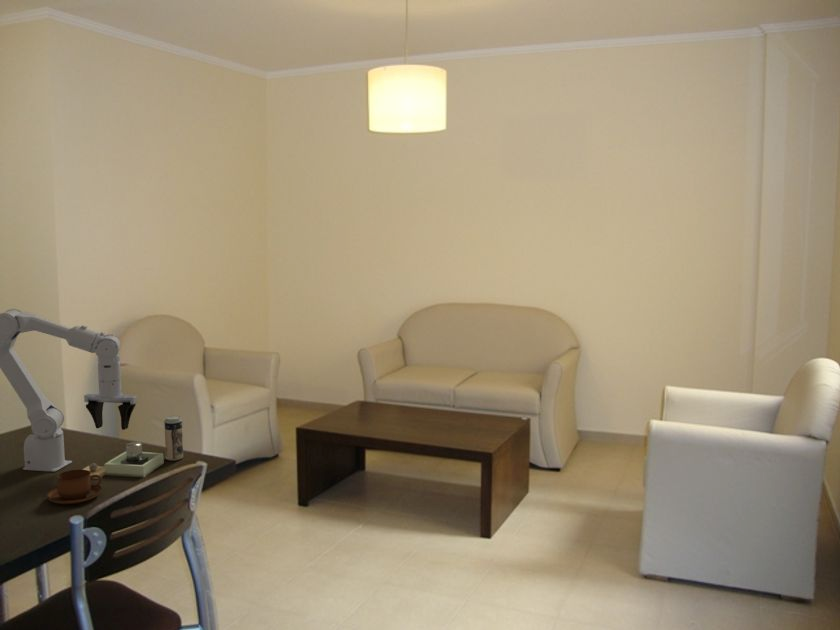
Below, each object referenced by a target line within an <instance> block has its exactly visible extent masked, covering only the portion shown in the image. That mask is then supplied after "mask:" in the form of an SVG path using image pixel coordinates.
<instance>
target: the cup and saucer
mask: <svg viewBox="0 0 840 630" xmlns="http://www.w3.org/2000/svg"><path fill="white" fill-rule="evenodd" d="M94 477H97V478H98V479H97V480H98V482H96V483H94V482H91V480H92V479H93V478H94ZM56 482H57V484H56V485H57V487H55V488H53V489H51V490H50V491H48V493H47V495H46V497H47V499H48V501H50V502H51V503H55V504H59V505H72V504H73V505H75V504H81V503H83V502H89V501H90V500H92V499H94V498H95V497H97V496H99V494H100V493H101V492H102V486H101V485H102V484H101V483H102V482H103V477H101V476H99V475H91V476H90V472H89V471H87V470H82V469H72V470H71V469H70V470H66V471H63V472H61V473H59V474H57V476H56Z"/></svg>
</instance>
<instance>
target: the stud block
mask: <svg viewBox="0 0 840 630" xmlns="http://www.w3.org/2000/svg"><path fill="white" fill-rule="evenodd" d="M81 470H87V471H89V472H90V476H91V475H99V476H101V478H103V477H104V476H106V475H105V468H104V465H103V466H102V465H101V466H100V465H98V464H97V463H95V462H93V463H90V464H89V465H87V466H86V467H84V468H82V469H81ZM92 479H97V480H99V479H98V478H97V477H94V478H92Z"/></svg>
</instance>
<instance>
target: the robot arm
mask: <svg viewBox="0 0 840 630" xmlns="http://www.w3.org/2000/svg"><path fill="white" fill-rule="evenodd" d="M33 331H36V332H38V333H42V334H47V335H49V336H53V337H55V338H56V337H57V338H60V339H63V340H65V341H66V342H67V344H68V346H69V347H73V348H77V349H79V350H81V351H85V352H88V353H91V354H95V355H96V356H97V363H98V364H97V373H98V374H97V375H98V376H97V377H98V379H97V380H98V393H86V394H85V395H83V398H84V400H83V401H84V403H87V404H85V409H86V410H87V411H88V412H89V414H90V415H91V418H92V420H93V422H94V426H95V428H96V429H100V428H102V427H103V423H104V421H103V419H104V418H103V410H104V404H105V403H111V404H112V403H113V404H114V403H115V404H120V405H118V406H117V408H118V409H117V410H118V411H119V415H120V424H121V425H120V426H121V430H123V431H125V430H127V429H129V425H130V424H129V423H130V419H131V416H132V413H133V411H134V409H135V407H136V405H137V403H138V395H131V394H125V393H122V373H121V372H122V371H121V369H122V366H121V362H120V360H121V358H120V353H119V352H120V350H121V348H122V347H121V346H122V345H121V341H120V339H119V338H118V337H117V336H115V335H113V334H106V333H105V332H103V331H101V332H98V331H95V330H91V329H88V326H87V325H84V324H82V325H81V326H79V325H75V326H73V327H69V326H65V325H63V324H61V323H58V322H55V321H53V320H50V319H47V318H45V317H42V316H40V315H37V314H34V313H32V312H29V311H21V310H19V309H16V308H11V309H7V310H6V311H4V312H0V370H1V371H2V373H3V374H4V376H5V378H6V379H7V380H8V382H9V384H10V386H11V387H12V388H13V390H14V391H15V393H16V394H17V396H18V397H19V399H20V400H21V402H22V404H23V405H24V407H25V408H26V415H27V419H28V420H29V422H30V428H31V432H32V434H31V433H30V434H29V435H28V436H27V437H26V438H25V439H24V442H23V459H24V467H23V468H22V470H24V471H36V472H37V471H38V472H54V473H55V472H57V471H58V470H59V471H60V469H62V468H65V467H66V466H68V465H70V464H72V463H73V460H66V457H65V456H66V455H65V442H64V441H65V440H64V431H63V430H62V427H61V426H62V425H63V423H64V421H65V415H64V412H63V411H62V410H61V409H60V408H57V406H55V405H54V404H53V402H52V401H51V400H50V399H48V398H46V396H45V395H44V394H43V392H42V391H41V389H40V388H39V386H38V383H37V382H35V379H34V378H33V375H31V374H30V372H29V370H28V369H27V367H26V365H25V364H24V363H23V361H22V359H21V358H20V356H19V355H18V353H17V352H16V350H15V349H14V346H15V343H16V341H17V340H18V337H19V335H20V334H22V333H28V332H33Z"/></svg>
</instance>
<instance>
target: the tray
mask: <svg viewBox="0 0 840 630" xmlns="http://www.w3.org/2000/svg"><path fill="white" fill-rule="evenodd" d="M142 457H148V462H146V463H145V464H143V465H130V464H121V461H122V460H124V459H126V451H124V452H122V453H120V454H119V455H117V456H115V457H113V458H112V459H110V460H108V461H107V462H105V463H104V465H103V466H104V468H105V475H104V476H115V477H130V478H131V477H133V478H134V477H135V478H145V477H147V476H148V475H149V474H151V473H152V472H154V471H155V470H156V469H158V468H159V467H161V466H163V465H164V464H165V463H164V460H165V459H164V453H163V452H151V451H150V452H147V451H142Z"/></svg>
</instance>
